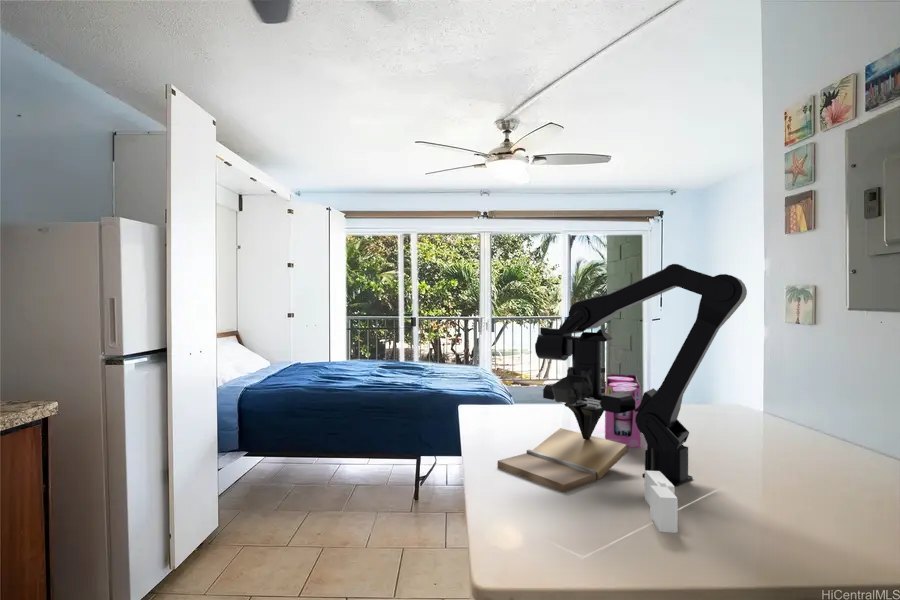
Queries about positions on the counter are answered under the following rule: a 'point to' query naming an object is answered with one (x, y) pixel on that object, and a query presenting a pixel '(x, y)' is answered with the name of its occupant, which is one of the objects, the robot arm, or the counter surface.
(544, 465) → the walnut board
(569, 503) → the counter surface
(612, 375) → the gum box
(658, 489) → the napkin holder
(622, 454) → the oak plank
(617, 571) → the counter surface
